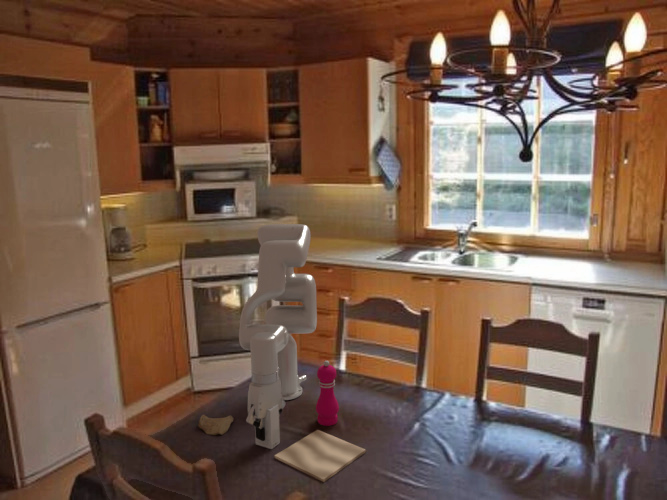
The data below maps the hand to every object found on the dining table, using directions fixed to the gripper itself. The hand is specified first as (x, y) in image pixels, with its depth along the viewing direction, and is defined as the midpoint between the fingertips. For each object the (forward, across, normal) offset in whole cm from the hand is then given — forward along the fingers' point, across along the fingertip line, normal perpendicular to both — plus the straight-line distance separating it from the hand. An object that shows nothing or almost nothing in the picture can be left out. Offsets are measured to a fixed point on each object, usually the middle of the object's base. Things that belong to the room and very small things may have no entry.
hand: (267, 434), depth 159 cm
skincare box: (+3, 0, 0) cm, 3 cm away
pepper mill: (+3, -21, +5) cm, 22 cm away
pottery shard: (+3, +3, -20) cm, 21 cm away
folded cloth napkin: (+3, -5, +16) cm, 17 cm away
